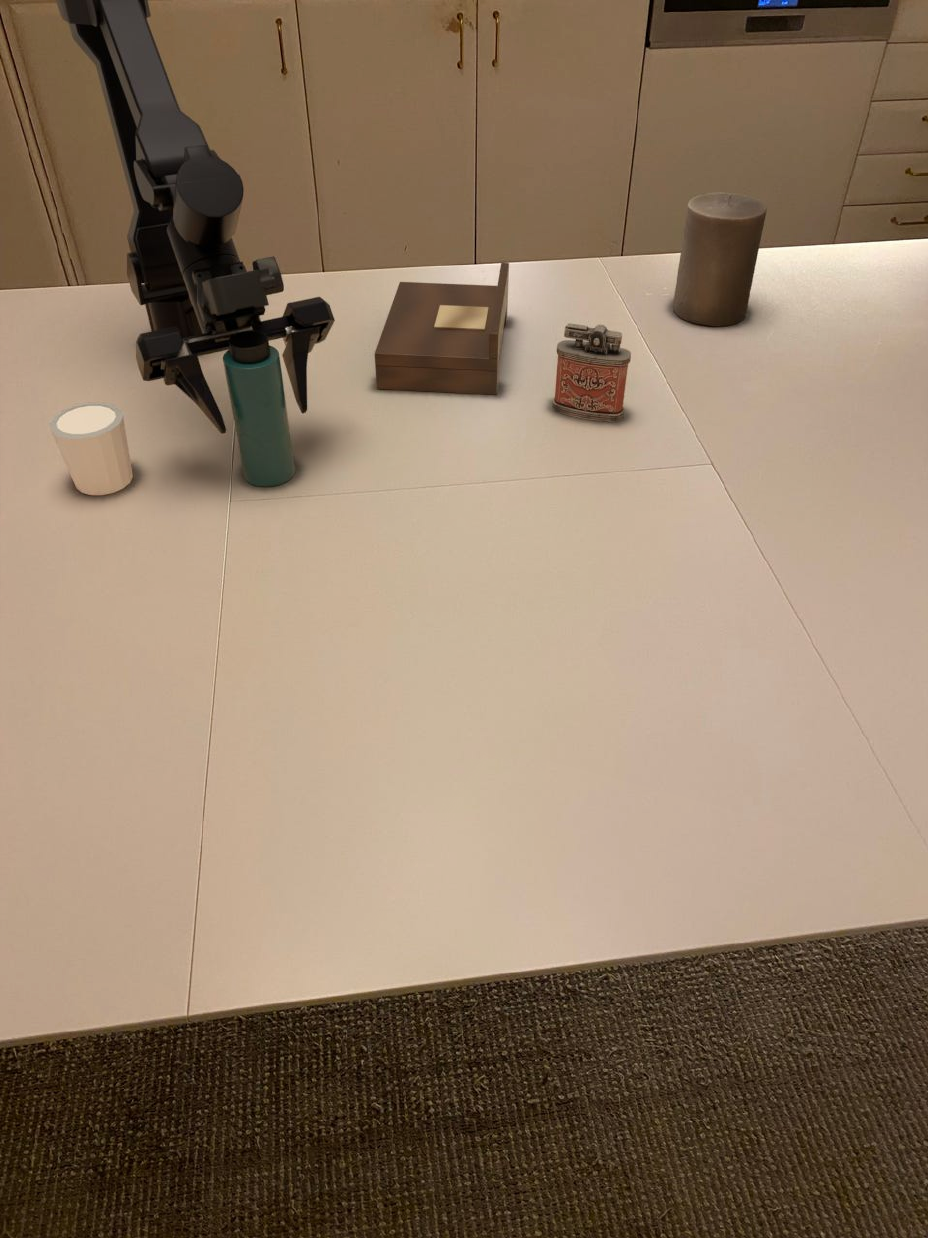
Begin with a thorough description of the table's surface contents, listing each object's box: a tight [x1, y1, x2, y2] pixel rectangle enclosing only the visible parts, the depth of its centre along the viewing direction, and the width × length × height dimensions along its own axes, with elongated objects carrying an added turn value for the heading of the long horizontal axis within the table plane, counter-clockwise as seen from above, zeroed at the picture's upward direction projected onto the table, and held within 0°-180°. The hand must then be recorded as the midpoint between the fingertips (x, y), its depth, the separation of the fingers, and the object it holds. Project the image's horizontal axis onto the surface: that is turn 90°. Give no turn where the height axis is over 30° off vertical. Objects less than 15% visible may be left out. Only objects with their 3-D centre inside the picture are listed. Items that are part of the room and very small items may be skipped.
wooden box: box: [374, 262, 510, 396], centre depth 115 cm, size 14×20×8 cm
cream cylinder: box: [49, 402, 134, 496], centre depth 94 cm, size 7×7×7 cm
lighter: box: [552, 322, 632, 423], centre depth 104 cm, size 8×3×10 cm, turn 71°
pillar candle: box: [672, 191, 768, 327], centre depth 122 cm, size 10×10×15 cm
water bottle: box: [222, 331, 296, 488], centre depth 93 cm, size 5×5×15 cm
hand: (265, 421), depth 92 cm, fingers open, 8 cm apart
